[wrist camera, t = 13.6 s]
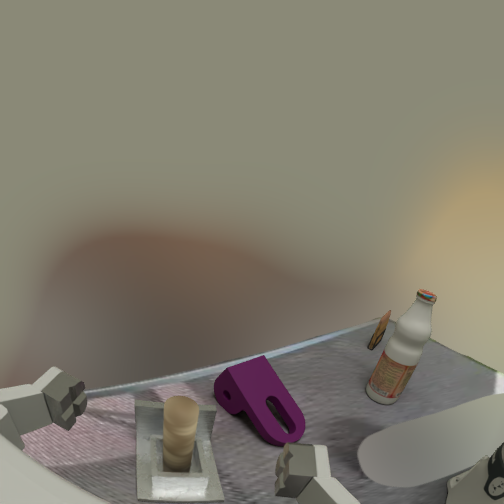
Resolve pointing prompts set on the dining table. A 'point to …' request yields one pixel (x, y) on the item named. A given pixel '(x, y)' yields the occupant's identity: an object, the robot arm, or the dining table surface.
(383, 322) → the ammunition clip
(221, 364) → the dining table surface
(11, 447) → the robot arm
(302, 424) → the mounting bracket
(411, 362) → the fruit juice
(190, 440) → the tan wooden cylinder
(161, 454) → the cup bracket
